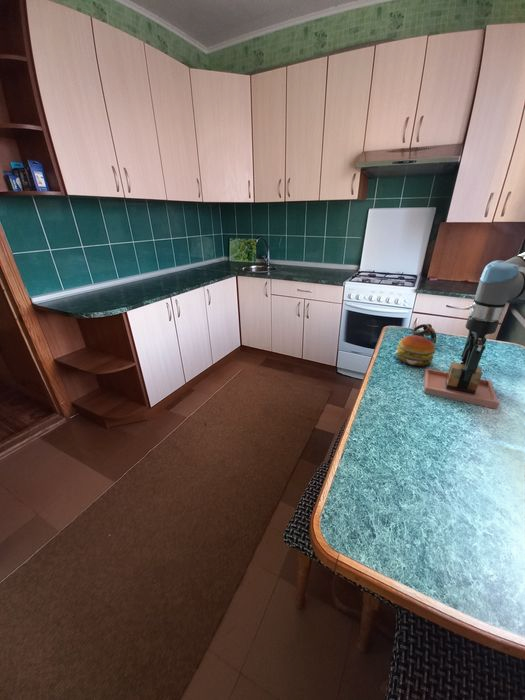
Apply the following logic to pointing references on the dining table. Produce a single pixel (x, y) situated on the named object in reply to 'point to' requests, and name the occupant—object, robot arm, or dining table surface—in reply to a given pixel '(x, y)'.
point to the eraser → (455, 376)
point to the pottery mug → (425, 331)
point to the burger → (415, 350)
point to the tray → (437, 387)
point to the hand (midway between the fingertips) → (461, 383)
